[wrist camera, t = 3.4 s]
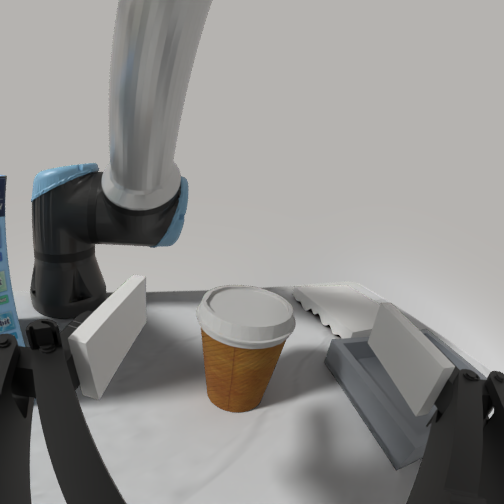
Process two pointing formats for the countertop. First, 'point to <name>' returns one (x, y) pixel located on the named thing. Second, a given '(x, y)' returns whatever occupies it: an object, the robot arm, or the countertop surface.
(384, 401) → the tray
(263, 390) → the disposable coffee cup
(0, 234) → the gum box
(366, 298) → the food packaging
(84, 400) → the countertop surface
